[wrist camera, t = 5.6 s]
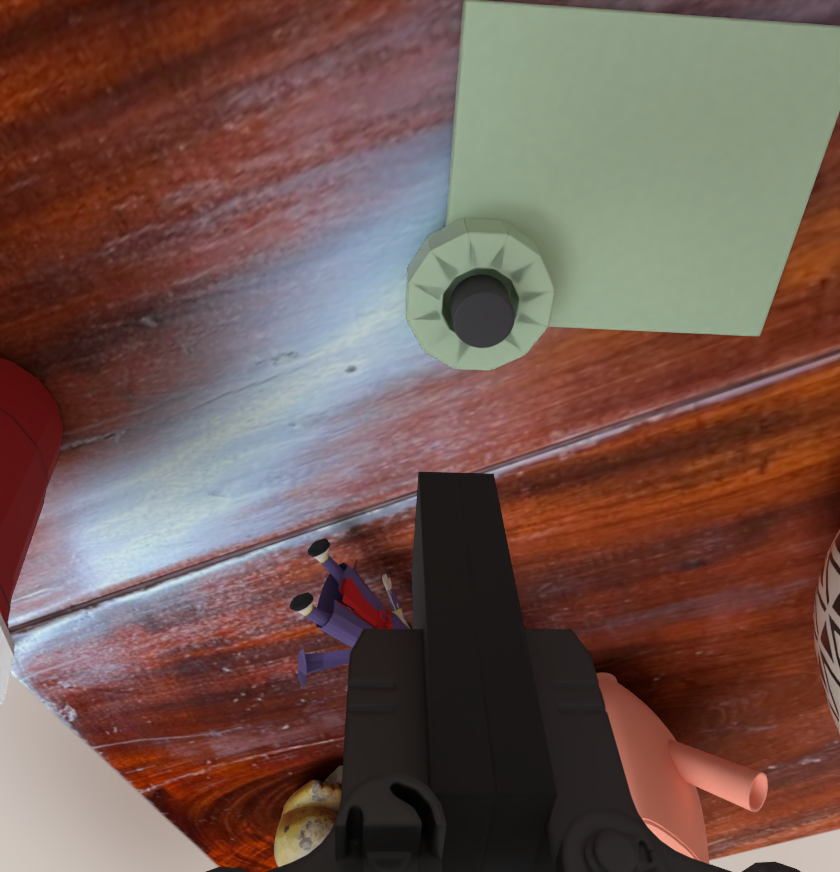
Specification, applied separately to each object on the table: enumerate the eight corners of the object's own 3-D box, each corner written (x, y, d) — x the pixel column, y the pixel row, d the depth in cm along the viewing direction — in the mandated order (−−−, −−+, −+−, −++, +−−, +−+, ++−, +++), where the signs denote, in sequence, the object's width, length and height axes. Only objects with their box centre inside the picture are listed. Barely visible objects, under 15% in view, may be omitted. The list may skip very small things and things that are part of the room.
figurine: (379, 491, 30) (559, 669, 37) (246, 551, 34) (431, 701, 41) (346, 619, 25) (560, 795, 32) (196, 670, 29) (414, 817, 36)
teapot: (723, 662, 38) (811, 848, 30) (638, 786, 44) (692, 968, 36) (516, 634, 36) (551, 824, 28) (458, 768, 43) (473, 954, 35)
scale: (403, 336, 27) (403, 367, 25) (421, -5, 21) (423, -1, 19) (742, 351, 28) (770, 383, 26) (854, 26, 22) (903, 32, 20)
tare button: (447, 327, 25) (450, 347, 23) (452, 271, 23) (455, 289, 22) (504, 330, 25) (510, 350, 23) (512, 274, 24) (519, 292, 22)
